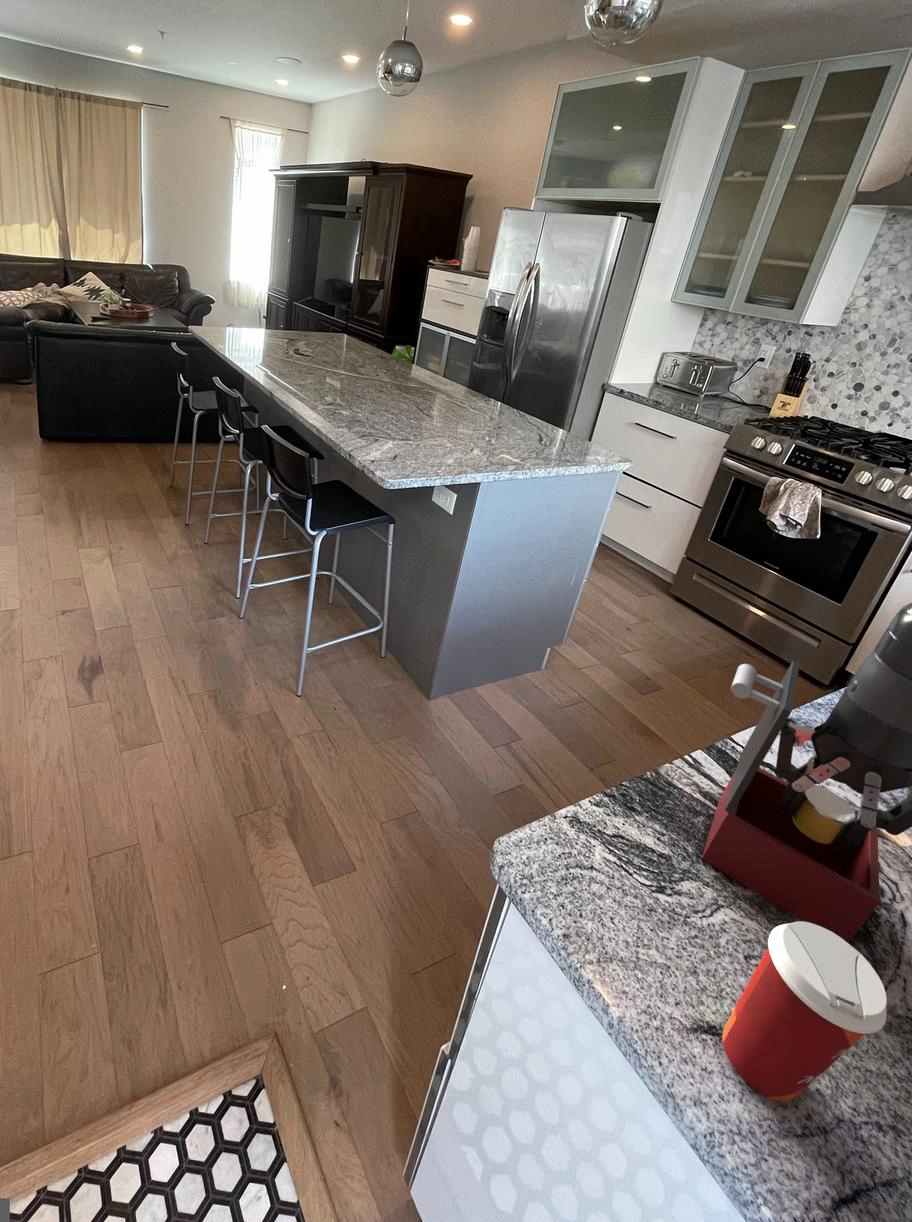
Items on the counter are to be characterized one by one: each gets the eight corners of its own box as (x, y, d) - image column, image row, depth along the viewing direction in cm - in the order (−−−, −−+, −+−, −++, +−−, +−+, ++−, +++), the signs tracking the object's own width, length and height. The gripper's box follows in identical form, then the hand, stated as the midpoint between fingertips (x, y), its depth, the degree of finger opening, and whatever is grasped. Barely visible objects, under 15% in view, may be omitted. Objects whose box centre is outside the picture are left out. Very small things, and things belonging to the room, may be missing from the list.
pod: (838, 829, 69) (855, 804, 67) (836, 856, 65) (855, 830, 64) (790, 803, 71) (806, 778, 70) (786, 827, 68) (803, 802, 66)
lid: (800, 663, 70) (749, 641, 73) (791, 712, 62) (734, 685, 64) (746, 758, 76) (701, 734, 79) (731, 814, 68) (681, 786, 70)
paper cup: (821, 1143, 49) (915, 1044, 43) (714, 1093, 51) (791, 992, 45) (792, 1036, 56) (869, 938, 50) (699, 995, 58) (763, 897, 52)
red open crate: (844, 876, 73) (877, 829, 69) (841, 951, 64) (880, 902, 61) (716, 804, 80) (741, 758, 77) (698, 863, 71) (726, 815, 68)
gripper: (985, 727, 60) (893, 847, 67) (811, 654, 68) (745, 769, 75) (997, 769, 55) (895, 896, 62) (806, 684, 62) (735, 806, 69)
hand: (813, 826), depth 68 cm, fingers closed on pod, 4 cm apart
